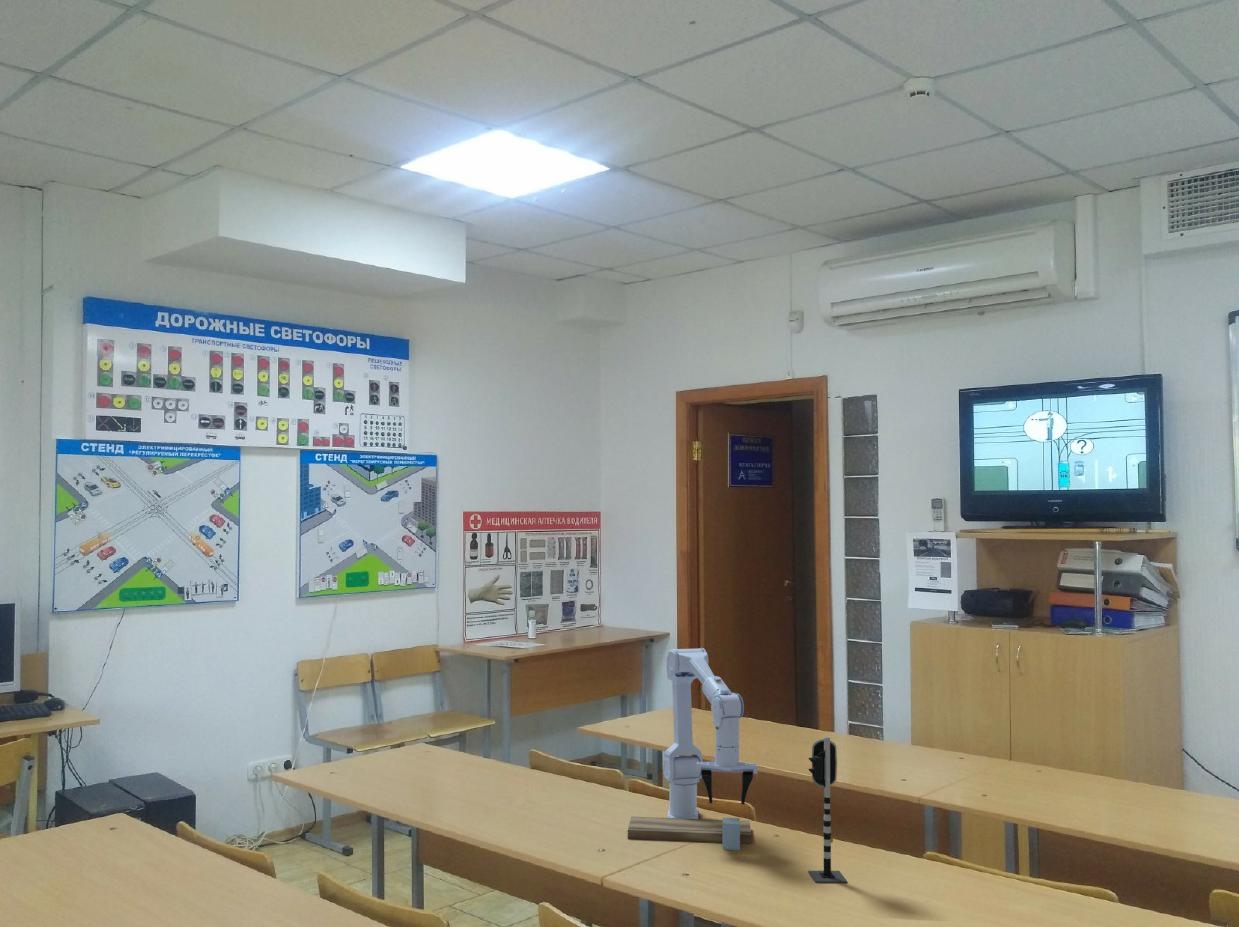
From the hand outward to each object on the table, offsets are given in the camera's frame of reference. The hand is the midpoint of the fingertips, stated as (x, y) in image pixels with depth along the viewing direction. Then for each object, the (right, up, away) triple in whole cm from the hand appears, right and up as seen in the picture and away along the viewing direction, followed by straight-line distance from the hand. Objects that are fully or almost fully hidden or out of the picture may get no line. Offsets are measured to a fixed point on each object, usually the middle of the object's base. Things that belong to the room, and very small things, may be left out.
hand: (726, 802), depth 241 cm
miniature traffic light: (+19, -9, -23) cm, 31 cm away
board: (-8, -10, +8) cm, 16 cm away
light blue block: (+1, -10, 0) cm, 10 cm away
